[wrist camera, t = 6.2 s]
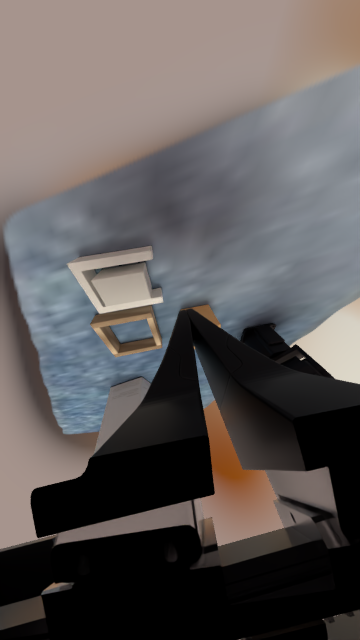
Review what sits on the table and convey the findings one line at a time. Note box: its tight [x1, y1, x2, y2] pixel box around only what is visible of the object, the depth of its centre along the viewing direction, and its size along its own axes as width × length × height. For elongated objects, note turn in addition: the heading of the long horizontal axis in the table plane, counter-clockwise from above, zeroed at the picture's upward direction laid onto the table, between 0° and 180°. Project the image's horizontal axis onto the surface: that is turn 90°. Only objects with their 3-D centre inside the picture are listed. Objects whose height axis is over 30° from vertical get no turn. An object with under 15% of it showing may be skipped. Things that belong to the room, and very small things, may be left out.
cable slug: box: [91, 262, 152, 307], centre depth 14 cm, size 3×5×4 cm, turn 96°
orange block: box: [181, 305, 221, 349], centre depth 19 cm, size 4×4×5 cm
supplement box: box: [94, 377, 151, 454], centre depth 28 cm, size 9×9×15 cm
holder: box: [90, 305, 162, 357], centre depth 20 cm, size 8×8×2 cm
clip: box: [67, 246, 163, 314], centre depth 15 cm, size 6×8×2 cm
